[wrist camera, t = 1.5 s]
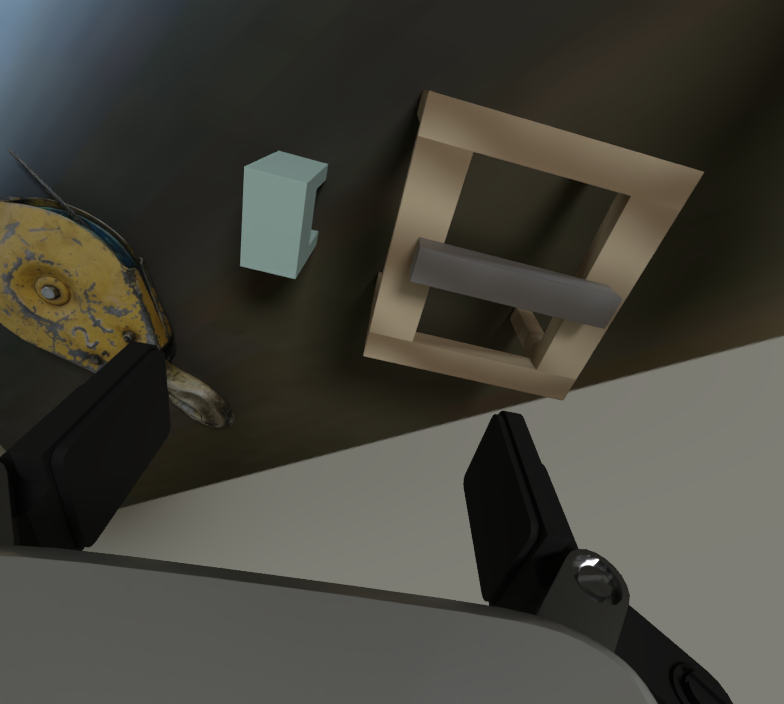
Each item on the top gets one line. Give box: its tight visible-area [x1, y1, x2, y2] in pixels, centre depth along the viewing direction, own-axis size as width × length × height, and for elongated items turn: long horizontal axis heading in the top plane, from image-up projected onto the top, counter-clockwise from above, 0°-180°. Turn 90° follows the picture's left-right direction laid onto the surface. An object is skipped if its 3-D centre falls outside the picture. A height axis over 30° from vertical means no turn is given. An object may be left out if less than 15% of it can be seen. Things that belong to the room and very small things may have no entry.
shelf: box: [363, 91, 704, 400], centre depth 29 cm, size 16×15×14 cm
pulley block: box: [0, 148, 235, 428], centre depth 39 cm, size 14×6×30 cm
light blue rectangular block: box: [240, 151, 328, 279], centre depth 31 cm, size 7×4×8 cm, turn 166°
